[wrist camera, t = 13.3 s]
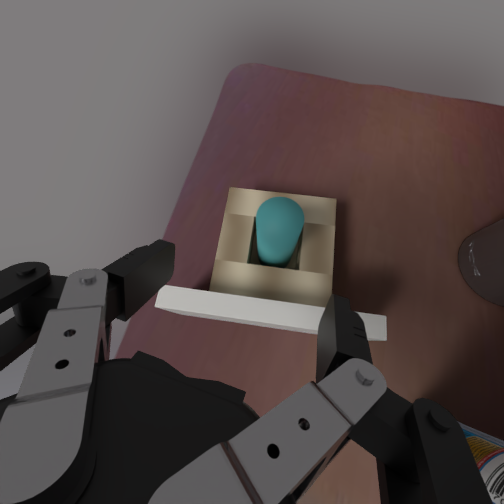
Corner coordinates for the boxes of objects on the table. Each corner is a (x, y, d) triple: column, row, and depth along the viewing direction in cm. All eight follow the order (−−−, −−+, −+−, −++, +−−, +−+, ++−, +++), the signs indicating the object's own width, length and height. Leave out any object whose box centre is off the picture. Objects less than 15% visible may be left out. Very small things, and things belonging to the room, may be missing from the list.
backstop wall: (357, 321, 28) (386, 316, 22) (356, 340, 28) (386, 340, 21) (182, 296, 30) (160, 284, 23) (178, 313, 29) (154, 306, 23)
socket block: (325, 218, 33) (336, 198, 28) (319, 313, 29) (330, 308, 24) (234, 208, 34) (229, 187, 29) (217, 298, 30) (208, 290, 25)
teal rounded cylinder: (292, 241, 31) (306, 199, 22) (289, 273, 30) (302, 243, 20) (260, 237, 31) (259, 194, 22) (255, 268, 30) (252, 237, 21)
